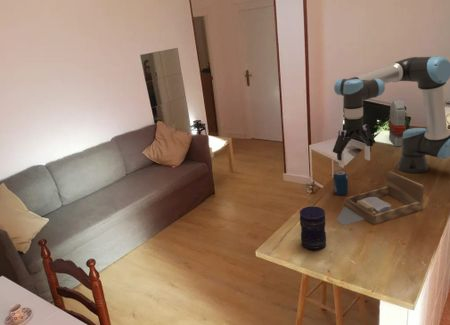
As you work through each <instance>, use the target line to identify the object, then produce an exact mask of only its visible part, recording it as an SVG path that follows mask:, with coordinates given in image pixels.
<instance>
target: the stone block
mask: <svg viewBox="0 0 450 325" xmlns="http://www.w3.org/2000/svg"><path fill="white" fill-rule="evenodd" d="M363 200H364V201H366V202H367V203H369V204H370V205H372V206H373V207H374V210H373V211H375V212H376V213H377V214H378V213H381V212H384V211H388V210H391V209H392V204H391V203H389V202H387V201H384V200H382V199H380V197H378V198H377V197H368V198H365V199H363Z"/></svg>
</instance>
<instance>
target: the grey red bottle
mask: <svg viewBox="0 0 450 325" xmlns="http://www.w3.org/2000/svg"><path fill="white" fill-rule="evenodd" d="M405 110H406V109H405V104H404V101H403V100H402V99H397V100H396V99H395V100H392V101H391V103H390V109H389V119H388V129H389V130H388V132H389V133H388V134H389V135H388V138H389V141H390V142H391V143H392V145H394V147H402V138H403V132H404V131H405V130H406V126H405V122H406V121H405V120H406V111H405Z"/></svg>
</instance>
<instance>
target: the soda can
mask: <svg viewBox="0 0 450 325" xmlns="http://www.w3.org/2000/svg"><path fill="white" fill-rule="evenodd" d="M332 176H333V180H332V181H333V193H334V194H335V195H337V196H339V195H340V197H341V195H343V196H346V195H347V194H348V192H349V188H348V186H349V185H348V184H349V182H348V180H349V178H348V174H347V171H346V170H343V169H342V170H341V169H340V170H339V169H338V170H336V171H334V174H333V175H332Z"/></svg>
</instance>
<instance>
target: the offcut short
mask: <svg viewBox="0 0 450 325" xmlns="http://www.w3.org/2000/svg"><path fill="white" fill-rule="evenodd" d="M356 204H358V205H359V206H361V207H363V208H364V209H366V210H368V211H369V212H373V210H374V207H373V206H372V205H370V204H369V203H367V202H366V201H364V200H359V201H357V203H356Z"/></svg>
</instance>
